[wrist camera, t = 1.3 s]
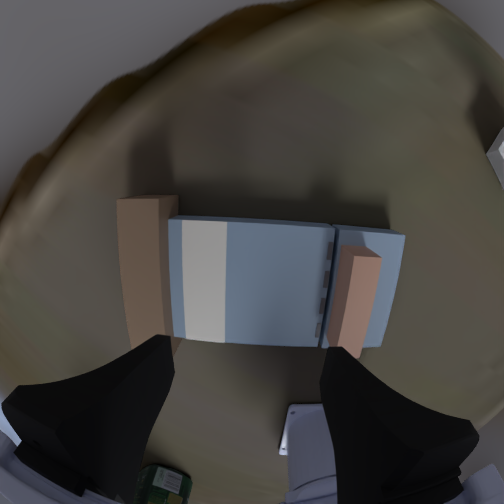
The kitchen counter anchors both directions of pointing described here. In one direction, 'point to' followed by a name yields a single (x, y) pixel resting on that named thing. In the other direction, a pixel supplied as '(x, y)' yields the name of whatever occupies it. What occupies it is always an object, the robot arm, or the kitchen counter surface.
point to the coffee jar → (162, 486)
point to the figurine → (497, 156)
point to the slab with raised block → (360, 287)
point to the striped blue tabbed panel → (221, 275)
